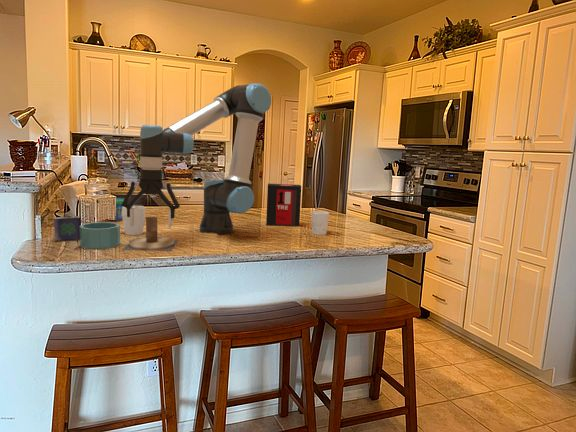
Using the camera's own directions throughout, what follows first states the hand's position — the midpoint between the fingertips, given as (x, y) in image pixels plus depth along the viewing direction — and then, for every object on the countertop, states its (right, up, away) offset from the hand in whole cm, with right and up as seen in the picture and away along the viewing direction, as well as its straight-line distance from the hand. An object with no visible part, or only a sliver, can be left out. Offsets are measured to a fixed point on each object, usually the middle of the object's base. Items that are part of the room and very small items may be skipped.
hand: (151, 226), depth 157 cm
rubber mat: (0, -8, +1) cm, 8 cm away
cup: (-13, -4, +19) cm, 23 cm away
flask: (-34, -6, +7) cm, 35 cm away
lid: (0, -7, +1) cm, 7 cm away
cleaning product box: (+48, 0, +59) cm, 76 cm away
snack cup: (-34, +2, +49) cm, 60 cm away
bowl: (-18, -7, -2) cm, 19 cm away
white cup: (+65, -4, +40) cm, 76 cm away
